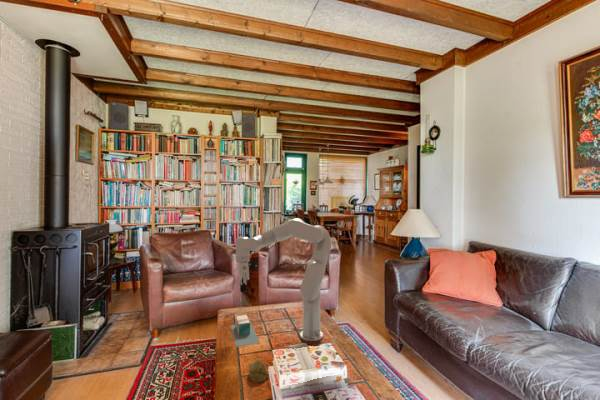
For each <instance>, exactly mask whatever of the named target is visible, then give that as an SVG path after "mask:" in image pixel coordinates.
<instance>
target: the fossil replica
mask: <svg viewBox="0 0 600 400" xmlns="http://www.w3.org/2000/svg"><path fill="white" fill-rule="evenodd" d="M302 347H308V348H309V345H308V344H307V343H306V342H301V343H296V344H293V345H288V346H287V349H289V348H292V349H294V348H302Z"/></svg>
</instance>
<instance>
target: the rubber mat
mask: <svg viewBox="0 0 600 400" xmlns="http://www.w3.org/2000/svg"><path fill="white" fill-rule="evenodd" d="M230 329H231V332H232V336H233V340H234V344H235V347H236V348H239V347H244V346H250V345H257V344H261V341H260V339H259V337H258V335H257V333H256V330H255V328H254V326H253V324H252V322H250V334H245V335H239V334H238V330H237V327H236V324H233V325H230Z"/></svg>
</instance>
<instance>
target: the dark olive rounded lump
mask: <svg viewBox="0 0 600 400" xmlns="http://www.w3.org/2000/svg"><path fill="white" fill-rule="evenodd" d="M269 375H270V374H269V372H268V371H267V368H266V364H265V362H263V361H262V360H259V359H256V360H253V362H251V363H249V366H248V376H249V380H250V381H252V382H254V383H263V382H265V381H266V380H267V378H268V376H269Z"/></svg>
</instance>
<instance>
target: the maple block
mask: <svg viewBox="0 0 600 400" xmlns="http://www.w3.org/2000/svg"><path fill="white" fill-rule="evenodd" d="M235 323H236V324H235V325H236V327H237V330H238V334H239V335H245V334H250V323H251V322H250V319H249V317H248V315H247V314H240V315H236V316H235Z"/></svg>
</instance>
